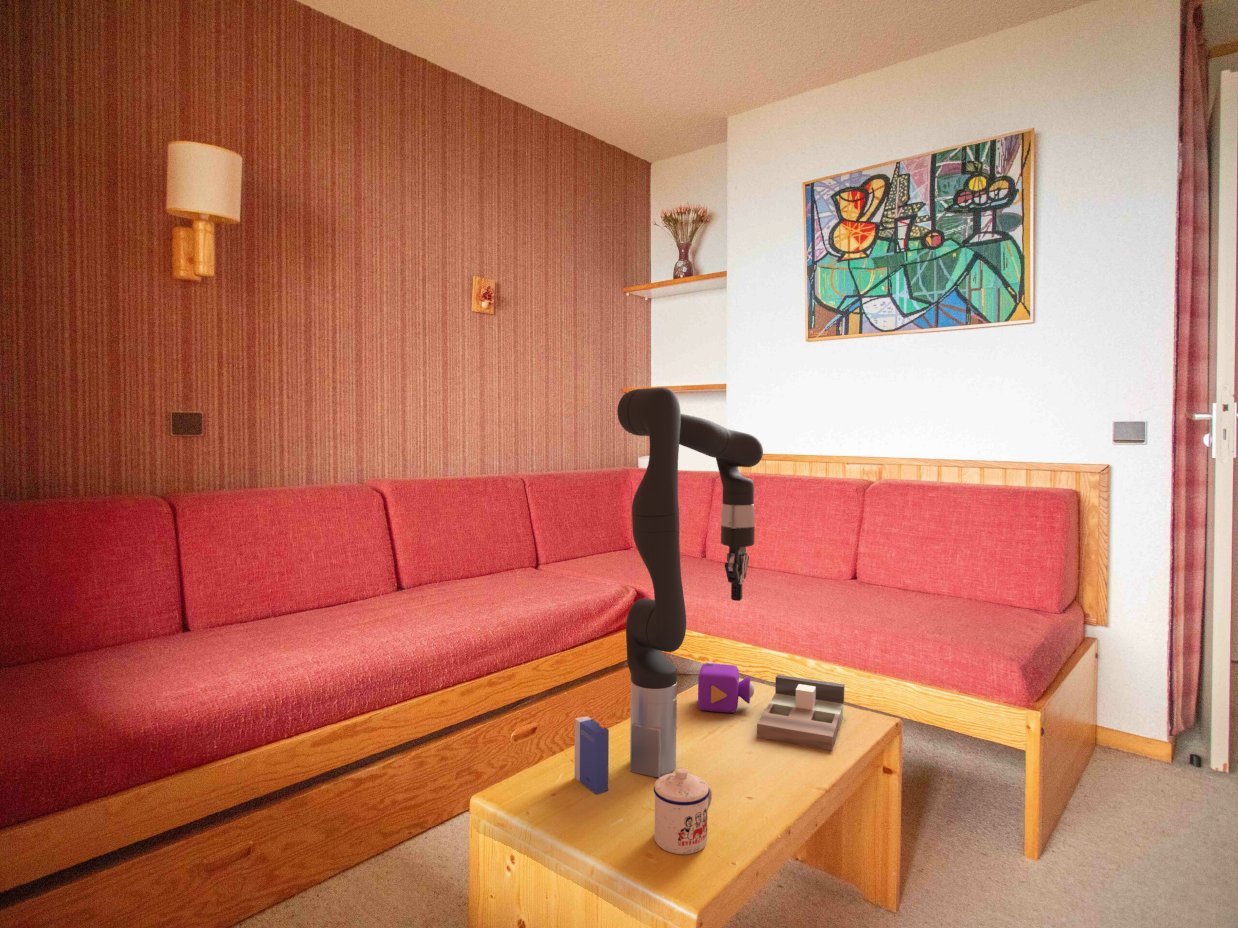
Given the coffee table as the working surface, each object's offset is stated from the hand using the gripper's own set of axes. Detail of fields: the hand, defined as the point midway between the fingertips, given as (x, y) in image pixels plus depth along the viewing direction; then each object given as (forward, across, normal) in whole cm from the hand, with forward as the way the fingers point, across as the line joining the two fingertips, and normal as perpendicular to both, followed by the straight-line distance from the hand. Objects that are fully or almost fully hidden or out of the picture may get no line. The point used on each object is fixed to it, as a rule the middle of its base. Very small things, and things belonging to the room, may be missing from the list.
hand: (736, 599), depth 160 cm
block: (+26, -12, +14) cm, 32 cm away
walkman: (+29, +38, -18) cm, 51 cm away
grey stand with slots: (+29, -7, +14) cm, 33 cm away
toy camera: (+29, -10, -5) cm, 31 cm away
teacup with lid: (+29, +47, +4) cm, 55 cm away
